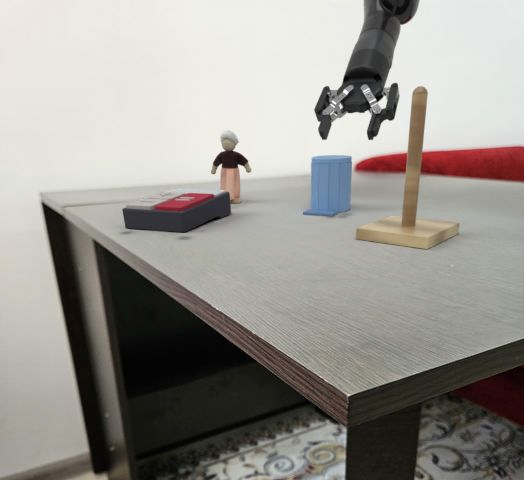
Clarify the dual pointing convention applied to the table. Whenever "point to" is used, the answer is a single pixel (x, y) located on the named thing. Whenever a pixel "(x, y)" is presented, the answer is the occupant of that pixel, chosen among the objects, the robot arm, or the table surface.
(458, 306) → the table surface
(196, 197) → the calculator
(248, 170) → the grandmother figurine
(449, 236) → the hat stand
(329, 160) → the blue ribbed waste bin
